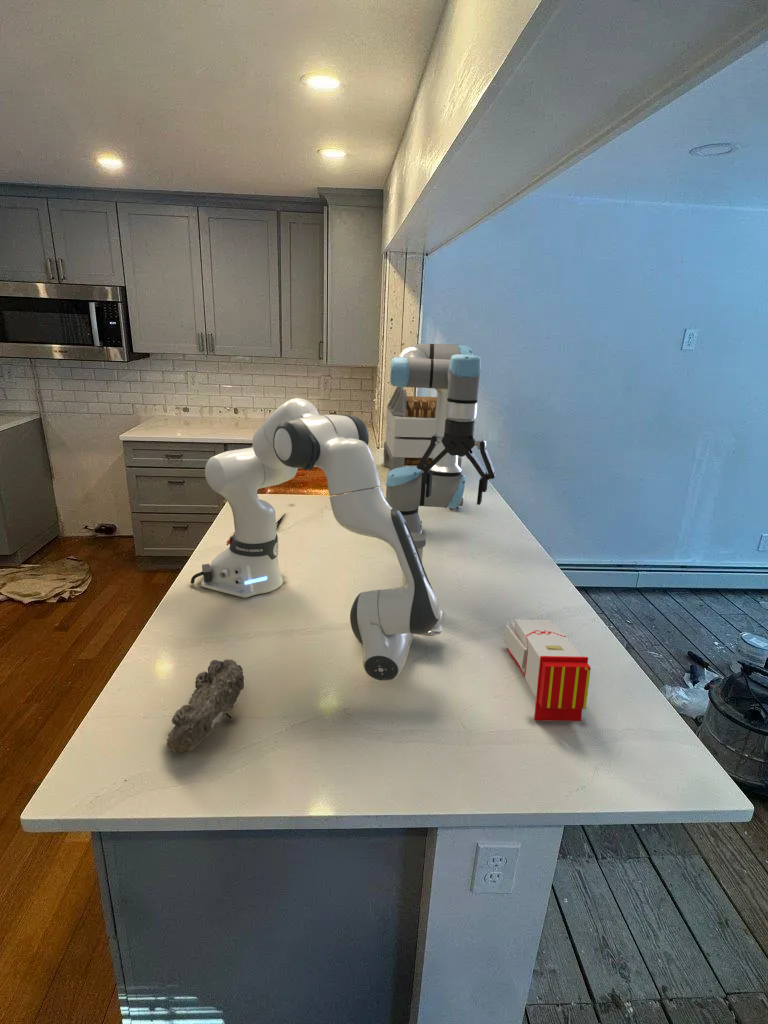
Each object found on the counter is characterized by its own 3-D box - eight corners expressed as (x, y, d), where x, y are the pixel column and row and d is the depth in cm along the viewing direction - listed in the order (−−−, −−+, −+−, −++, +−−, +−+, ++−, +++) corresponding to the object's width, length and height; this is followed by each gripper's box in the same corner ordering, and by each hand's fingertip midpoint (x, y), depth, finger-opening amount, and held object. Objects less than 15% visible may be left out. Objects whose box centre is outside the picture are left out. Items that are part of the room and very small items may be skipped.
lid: (399, 546, 146) (399, 538, 145) (406, 538, 151) (407, 530, 150) (421, 550, 144) (421, 542, 143) (428, 542, 149) (428, 534, 148)
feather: (292, 507, 224) (294, 503, 223) (275, 531, 197) (278, 527, 197) (288, 505, 224) (291, 501, 223) (271, 528, 197) (273, 524, 197)
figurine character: (463, 515, 225) (458, 499, 238) (465, 497, 221) (460, 482, 235) (446, 514, 224) (442, 498, 238) (448, 497, 221) (444, 482, 235)
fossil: (192, 660, 117) (244, 628, 112) (224, 691, 120) (276, 661, 115) (142, 746, 98) (202, 712, 93) (182, 779, 101) (242, 748, 96)
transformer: (382, 463, 289) (386, 382, 275) (445, 464, 293) (451, 384, 279) (390, 482, 257) (394, 392, 243) (460, 483, 261) (468, 394, 247)
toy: (549, 604, 136) (599, 663, 106) (544, 656, 138) (591, 727, 109) (499, 603, 135) (535, 662, 106) (495, 655, 138) (529, 726, 109)
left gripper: (441, 623, 126) (447, 595, 139) (352, 610, 130) (366, 584, 143) (439, 648, 129) (445, 617, 141) (351, 634, 132) (365, 606, 145)
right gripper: (512, 421, 141) (503, 502, 148) (416, 411, 149) (411, 489, 156) (508, 426, 134) (499, 510, 142) (408, 416, 142) (403, 496, 149)
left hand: (405, 600), depth 142 cm, fingers open, 8 cm apart
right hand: (453, 499), depth 149 cm, fingers open, 13 cm apart
